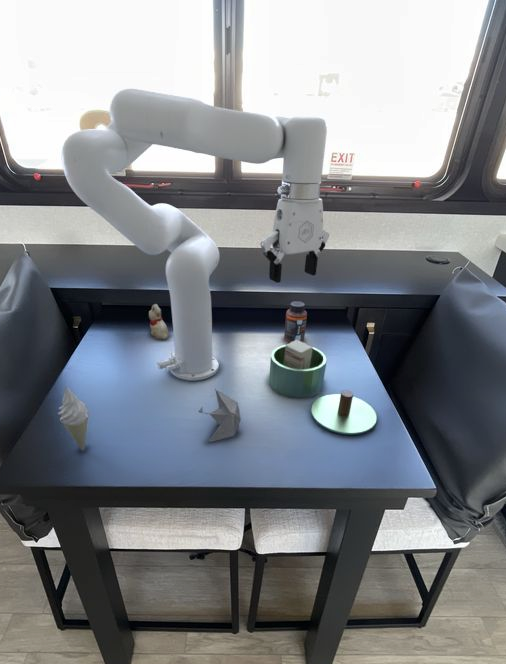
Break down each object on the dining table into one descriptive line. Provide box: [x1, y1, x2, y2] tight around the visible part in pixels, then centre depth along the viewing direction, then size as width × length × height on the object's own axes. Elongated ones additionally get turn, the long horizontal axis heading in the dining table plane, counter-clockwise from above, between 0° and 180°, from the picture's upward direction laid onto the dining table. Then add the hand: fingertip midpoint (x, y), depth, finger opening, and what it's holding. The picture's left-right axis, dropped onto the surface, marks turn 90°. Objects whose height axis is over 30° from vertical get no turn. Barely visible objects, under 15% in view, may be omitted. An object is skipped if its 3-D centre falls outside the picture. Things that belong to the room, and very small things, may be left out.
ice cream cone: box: [57, 386, 90, 452], centre depth 77 cm, size 5×5×15 cm
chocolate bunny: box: [148, 303, 170, 341], centre depth 122 cm, size 6×8×10 cm
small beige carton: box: [284, 340, 314, 369], centre depth 100 cm, size 5×4×10 cm
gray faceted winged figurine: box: [197, 388, 241, 443], centre depth 87 cm, size 12×6×9 cm
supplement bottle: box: [283, 301, 308, 343], centre depth 120 cm, size 6×6×11 cm
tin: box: [268, 344, 328, 399], centre depth 101 cm, size 13×13×8 cm
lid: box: [310, 389, 378, 436], centre depth 91 cm, size 14×14×6 cm
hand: (292, 277), depth 91 cm, fingers open, 9 cm apart
